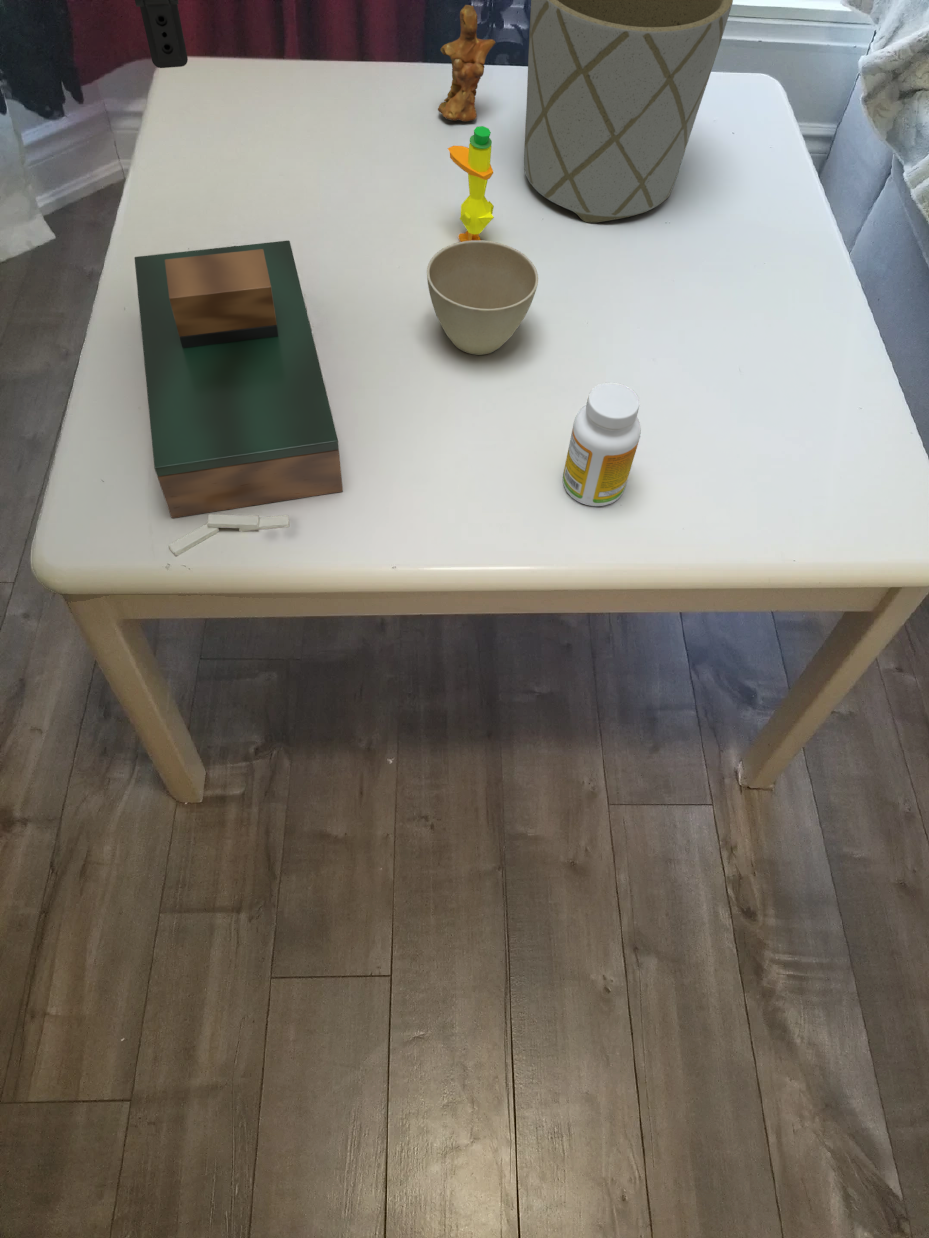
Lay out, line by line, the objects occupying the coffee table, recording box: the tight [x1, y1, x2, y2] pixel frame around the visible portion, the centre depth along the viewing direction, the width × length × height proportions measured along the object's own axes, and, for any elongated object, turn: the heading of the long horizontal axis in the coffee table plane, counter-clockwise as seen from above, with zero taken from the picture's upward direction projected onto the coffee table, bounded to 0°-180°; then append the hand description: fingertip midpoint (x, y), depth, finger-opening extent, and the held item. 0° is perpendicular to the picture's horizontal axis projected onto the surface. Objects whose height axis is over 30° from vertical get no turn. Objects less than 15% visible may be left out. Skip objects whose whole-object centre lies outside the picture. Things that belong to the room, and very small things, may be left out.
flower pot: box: [426, 239, 539, 356], centre depth 85 cm, size 10×10×7 cm
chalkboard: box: [134, 239, 344, 519], centre depth 79 cm, size 14×26×6 cm, turn 14°
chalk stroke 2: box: [206, 513, 260, 529], centre depth 73 cm, size 4×1×1 cm, turn 91°
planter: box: [523, 0, 734, 224], centre depth 95 cm, size 19×19×20 cm
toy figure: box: [447, 125, 495, 242], centre depth 91 cm, size 7×4×12 cm, turn 42°
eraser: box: [165, 249, 278, 348], centre depth 76 cm, size 8×5×5 cm, turn 104°
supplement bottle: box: [562, 382, 642, 507], centre depth 74 cm, size 5×5×10 cm
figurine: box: [437, 4, 496, 122], centre depth 104 cm, size 5×6×12 cm
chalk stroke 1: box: [168, 523, 220, 557], centre depth 73 cm, size 4×1×1 cm, turn 131°
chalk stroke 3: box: [238, 514, 290, 532], centre depth 74 cm, size 4×1×1 cm, turn 99°
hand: (166, 32), depth 61 cm, fingers open, 8 cm apart
